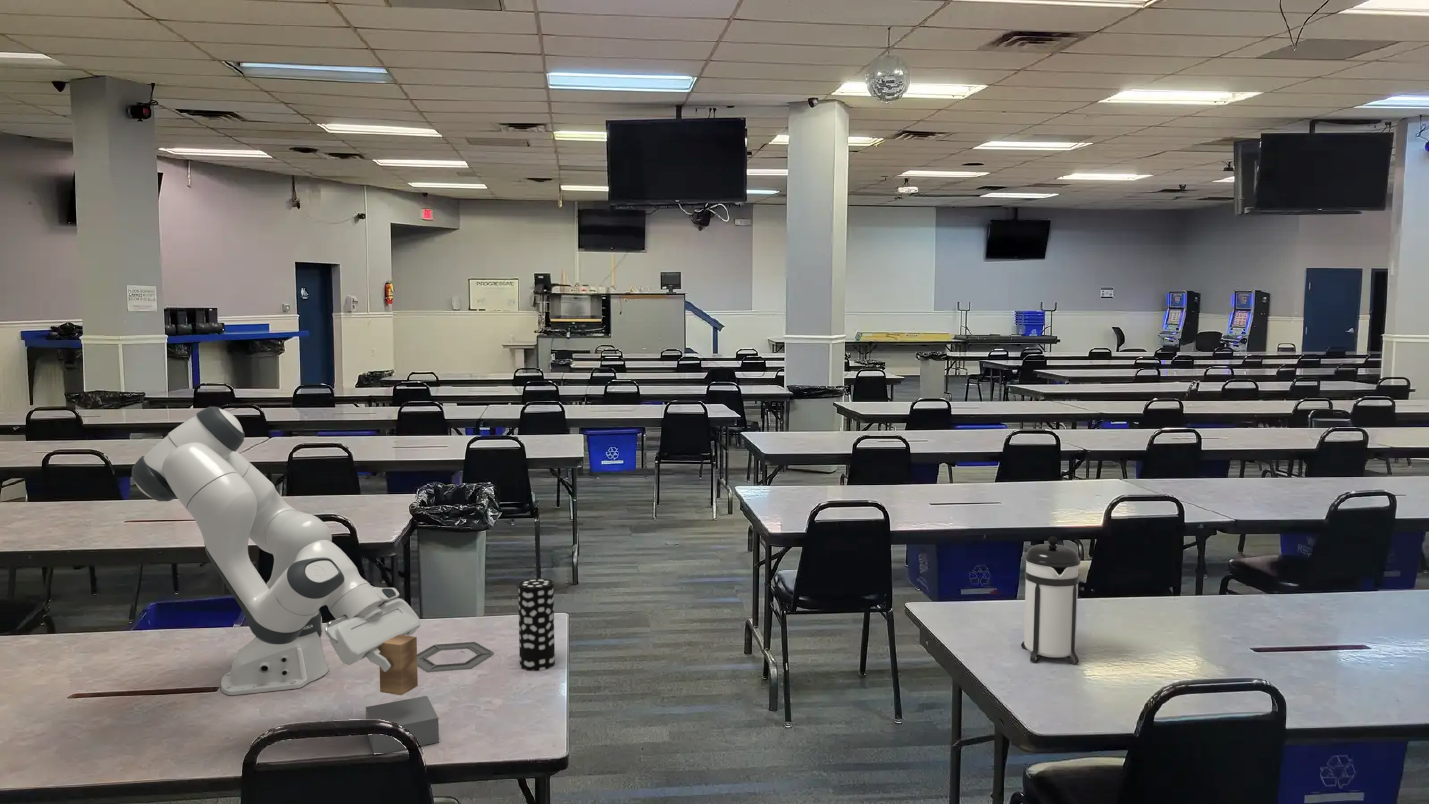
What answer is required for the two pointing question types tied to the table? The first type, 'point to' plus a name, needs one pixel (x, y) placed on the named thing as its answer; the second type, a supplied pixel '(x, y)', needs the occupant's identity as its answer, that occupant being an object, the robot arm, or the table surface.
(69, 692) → the table surface
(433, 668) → the grey hexagonal ring
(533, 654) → the spotted tube
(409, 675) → the oak block
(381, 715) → the block
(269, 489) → the robot arm
